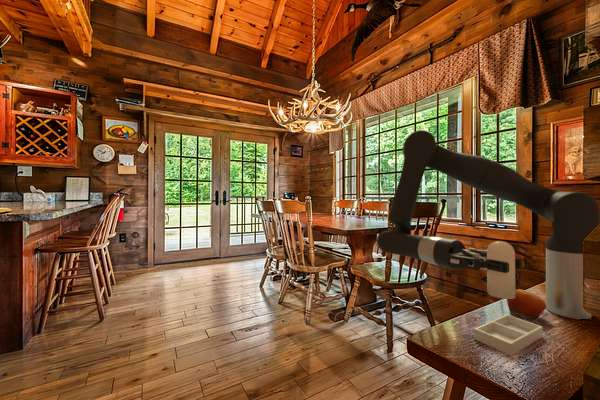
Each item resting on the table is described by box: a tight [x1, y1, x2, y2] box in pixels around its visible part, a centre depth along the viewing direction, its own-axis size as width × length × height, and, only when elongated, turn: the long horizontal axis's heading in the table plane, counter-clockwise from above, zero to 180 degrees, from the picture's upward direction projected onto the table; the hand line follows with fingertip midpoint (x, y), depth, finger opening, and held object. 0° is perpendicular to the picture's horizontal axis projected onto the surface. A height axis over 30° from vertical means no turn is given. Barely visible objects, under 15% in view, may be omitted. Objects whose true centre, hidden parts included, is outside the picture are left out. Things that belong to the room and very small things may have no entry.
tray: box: [473, 314, 544, 356], centre depth 61 cm, size 14×7×2 cm, turn 118°
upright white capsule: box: [486, 240, 516, 300], centre depth 59 cm, size 5×5×12 cm
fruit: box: [506, 288, 546, 321], centre depth 72 cm, size 8×8×8 cm
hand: (514, 266), depth 57 cm, fingers closed on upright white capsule, 5 cm apart
